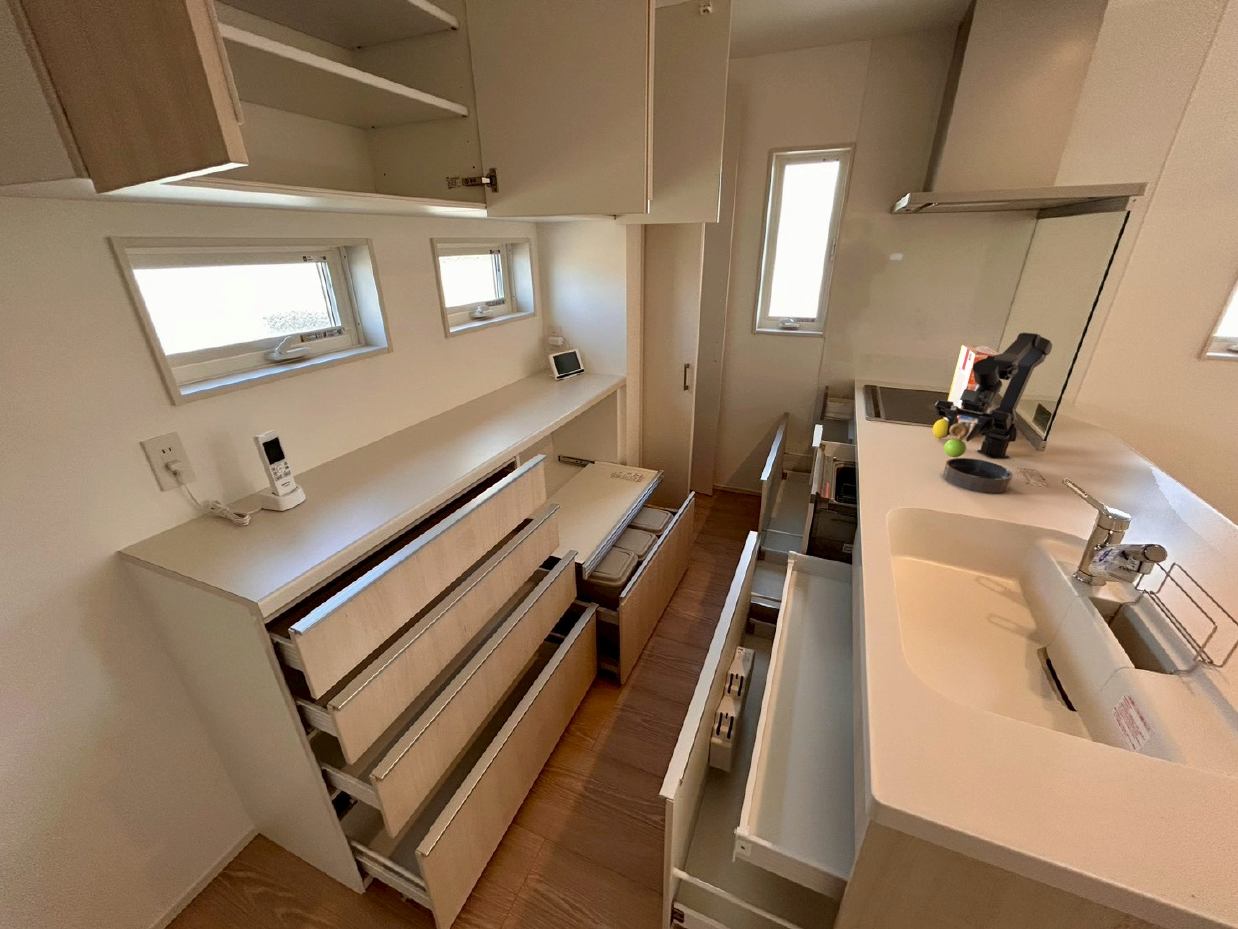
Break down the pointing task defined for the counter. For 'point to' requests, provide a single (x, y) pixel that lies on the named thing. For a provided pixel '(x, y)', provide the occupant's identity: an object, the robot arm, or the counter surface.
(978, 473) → the pan
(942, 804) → the counter surface
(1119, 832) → the counter surface
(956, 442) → the snail figurine
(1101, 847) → the counter surface
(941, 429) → the lemon
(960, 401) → the red and white box
